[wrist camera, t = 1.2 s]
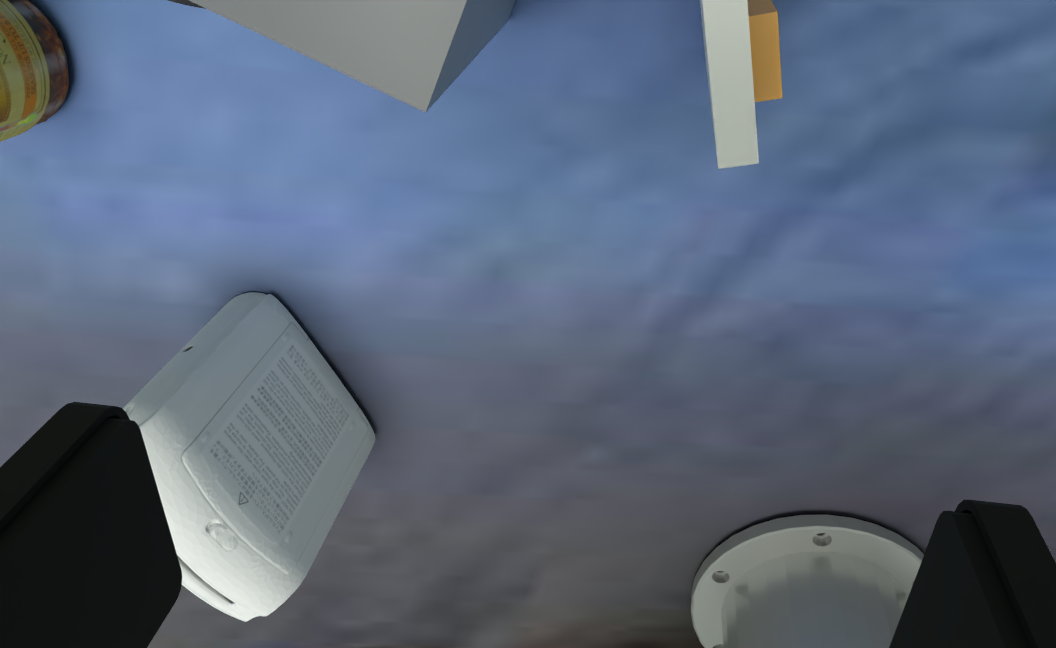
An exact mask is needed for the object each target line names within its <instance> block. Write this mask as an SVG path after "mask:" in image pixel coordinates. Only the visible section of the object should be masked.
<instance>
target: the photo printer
mask: <svg viewBox="0 0 1056 648" xmlns="http://www.w3.org/2000/svg"><path fill="white" fill-rule="evenodd" d="M123 410H124V411H125V412H126V413H127V415H128V417H129V419H130V420H132V421H135V422H136V423H137V424H138V426H139V428H140V430H141V433H142V437H143V440H144V444H145V447H146V451H147V454H148V457H149V461H150V464H151V468H152V471H153V474H154V478H155V481H156V485H157V488H158V492H159V495H160V498H161V502H162V505H163V509H164V512H165V516H166V519H167V522H168V526H169V529H170V533H171V536H172V539H173V543H174V546H175V550H176V553H177V557H178V560H179V563H180V567H181V571H182V585H183V586H184V587H186V588H187V589H188V590H190V591H191V592H192V593H194V594H195V595H196V596H198V597H199V598H201V599H202V600H204V601H205V602H207V603H208V604H210V605H211V606H213V607H215V608H217V609H218V610H220V611H222V612H224V613H226V614H228V615H230V616H232V617H235V618H237V619H240V620H242V621H245V622H247V621H248V620H250V619H252V618H254V617H257V616H267V615H269V614H270V613H272V612H273V611H274V610H276V609H277V608H278V607H279V606H280V605H282V604H283V603H284V602H285V601H286V600H287V599H288V598H289V597H290V596H291V595H292V594H293V593H294V591H295V590H296V589H297V588H298V587H299V585H300V584H301V583H302V581H303V580H304V578H305V577H306V575H307V573H308V571H309V569H310V568H311V566H312V564H313V562H314V560H315V558H316V556H317V554H318V552H319V550H320V548H321V546H322V545H323V542H324V540H325V538H326V536H327V534H328V533H329V531H330V529H331V527H332V524H333V523H334V521H335V519H336V517H337V515H338V513H339V511H340V509H341V507H342V505H343V503H344V501H345V499H346V498H347V496H348V494H349V492H350V490H351V488H352V486H353V484H354V482H355V480H356V478H357V477H358V474H359V473H360V471H361V469H362V467H363V465H364V463H365V461H366V459H367V457H368V456H369V454H370V452H371V450H372V448H373V446H374V443H375V434H374V431H373V429H372V427H371V425H370V424H369V422H368V420H367V418H366V416H365V415H364V414H363V412H362V410H361V409H360V408H359V406H358V405H357V403H356V402H355V401H354V399H353V398H352V396H351V395H350V393H349V392H348V391H347V389H346V388H345V386H344V385H343V384H342V382H341V381H340V379H339V378H338V377H337V375H336V374H335V372H334V371H333V370H332V368H331V367H330V366H329V364H328V363H327V362H326V360H325V359H324V358H323V356H322V355H321V354H320V352H319V351H318V350H317V348H316V347H315V345H314V344H313V343H312V341H311V340H310V339H309V337H308V336H307V334H306V333H305V332H304V330H303V329H302V328H301V327H300V325H299V324H298V323H297V321H296V320H295V319H294V318H293V316H292V315H291V314H290V313H289V311H288V310H287V309H286V308H285V307H284V306H283V305H282V304H281V302H280V301H279V300H278V299H277V298H275V297H274V296H273V295H271V294H268V295H266V294H263V293H256V292H250V293H244V294H241V295H238V296H236V297H234V298H233V299H232V300H230V301H229V302H228V303H227V304H226V305H225V306H224V307H223V308H222V309H221V310H220V311H219V312H218V313H217V314H216V315H215V316H214V317H213V318H212V319H211V320H210V321H209V322H208V323H207V324H206V325H205V326H204V327H203V328H202V329H201V330H200V331H199V332H198V333H197V334H196V335H195V336H194V337H193V338H192V339H191V340H190V341H189V342H188V343H187V344H186V345H185V346H184V347H183V348H182V349H181V350H180V351H179V352H178V353H177V354H176V355H175V356H174V357H173V358H172V359H171V360H170V361H169V362H168V363H167V364H166V365H165V366H164V367H163V368H162V369H161V370H160V371H159V372H158V373H157V374H156V375H155V376H154V377H153V378H152V379H151V380H150V381H149V382H148V383H147V384H146V385H145V386H144V387H143V388H142V389H141V390H140V391H139V392H138V393H137V394H136V395H135V396H134V397H133V399H132V400H131V401H130V402H129V403H128V404H127V405H126V406H125V407H124V408H123Z"/></svg>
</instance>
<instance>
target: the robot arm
mask: <svg viewBox="0 0 1056 648" xmlns="http://www.w3.org/2000/svg"><path fill="white" fill-rule="evenodd" d="M181 584H182V571H181V567H180V563H179V560H178V557H177V553H176V550H175V546H174V543H173V539H172V536H171V533H170V529H169V526H168V522H167V519H166V516H165V512H164V509H163V505H162V502H161V498H160V495H159V492H158V488H157V485H156V481H155V478H154V474H153V471H152V468H151V464H150V461H149V457H148V454H147V451H146V447H145V444H144V440H143V437H142V433H141V430H140V428H139V426H138V424H137V423H136V422H135V421H132V420H130V419H129V417H128V415H127V413H126V412H125V411H124V410H123V409H122V408H120V407H116V406H107V405H98V404H89V403H80V402H73V403H69V404H67V405H65V406H64V407H62V408H61V409H60V410H59V411H58V412H57V413H56V414H55V415H54V416H53V417H52V418H51V419H50V420H48V421H47V422H46V423H45V424H44V425H43V426H42V427H41V428H40V429H39V430H38V431H37V432H36V433H35V434H34V435H33V436H32V437H31V438H30V439H29V440H28V441H27V442H26V443H25V444H24V445H23V446H22V447H21V448H20V449H19V450H18V451H17V452H16V453H15V454H14V455H13V456H12V457H11V458H10V459H9V460H8V461H6V462H5V463H4V464H3V465H2V466H1V467H0V648H147V647H148V645H149V643H150V642H151V640H152V639H153V637H154V635H155V634H156V632H157V631H158V629H159V627H160V626H161V624H162V623H163V621H164V619H165V618H166V616H167V615H168V613H169V612H170V610H171V608H172V607H173V605H174V604H175V602H176V600H177V598H178V595H179V592H180V589H181ZM691 616H692V622H693V628H694V630H695V632H696V634H697V636H698V639H699V641H700V643H701V644H702V646H703V647H704V648H1056V563H1055V561H1054V559H1053V557H1052V555H1051V553H1050V551H1049V549H1048V547H1047V545H1046V543H1045V541H1044V539H1043V537H1042V536H1041V534H1040V532H1039V530H1038V528H1037V526H1036V524H1035V522H1034V520H1033V518H1032V516H1031V515H1030V513H1029V512H1028V510H1027V509H1026V508H1024V507H1022V506H1021V505H1012V504H1003V503H994V502H985V501H976V500H963V501H962V502H961V503H960V504H959V505H958V507H957V509H956V510H955V512H952V511H943V512H942V513H941V514H940V516H939V518H938V520H937V522H936V525H935V528H934V530H933V533H932V536H931V538H930V541H929V543H928V546H927V549H926V551H925V554H923V553H922V552H921V551H920V550H919V549H918V548H917V547H916V546H915V545H913V544H912V543H910V542H909V541H907V540H906V539H904V538H903V537H902V536H900V535H899V534H897V533H894V532H892V531H890V530H888V529H886V528H883V527H881V526H879V525H877V524H873V523H870V522H866V521H862V520H859V519H855V518H850V517H842V516H834V515H798V516H791V517H784V518H778V519H774V520H770V521H767V522H764V523H760V524H757V525H754V526H752V527H749V528H747V529H745V530H743V531H741V532H739V533H737V534H735V535H733V536H732V537H730V538H729V539H727V540H726V541H725V542H723V543H722V544H720V545H719V546H718V547H716V548H715V549H714V550H713V552H712V553H711V554H710V555H709V556H708V557H707V558H706V559H705V560H704V561H703V563H702V565H701V567H700V568H699V570H698V572H697V574H696V576H695V578H694V582H693V586H692V590H691Z"/></svg>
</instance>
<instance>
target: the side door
mask: <svg viewBox="0 0 1056 648" xmlns="http://www.w3.org/2000/svg"><path fill="white" fill-rule="evenodd" d="M700 9H701V20H702V30H703V40H704V51H705V61H706V70H707V78H708V87H709V95H710V103H711V112H712V120H713V129H714V137H715V145H716V154H717V162H718V169H721V168H729V167H736V166H743V165H751V164H758V163H759V157H758V143H757V129H756V115H755V102H760V101H766V100H773V99H779V98H782V81H781V63H780V45H779V26H778V11H777V9H776V7H775V6H774V4H773V2H772V0H700Z"/></svg>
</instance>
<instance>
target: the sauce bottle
mask: <svg viewBox="0 0 1056 648" xmlns="http://www.w3.org/2000/svg"><path fill="white" fill-rule="evenodd" d="M68 87H69V73H68V63H67V57H66V54H65V51H64V49H63V43H62V40H61V39H60V38H59V37H58V36H57V32H56V29H55V28H54V26H53V25H52V24H51V23H50V22H49V21H48V19H47V18H46V17H45V15H44V14H43V13H42V12H41V11H40V10H39V9H38V8H37V7H36V6H35V5H34V4H33V3H31V2H30V1H29V0H0V142H1V141H3V140H6V139H9V138H11V137H14V136H17V135H19V134H22V133H24V132H26V131H27V130H29V129H30V128H32V127H33V126H34V125H35V124H39V123H41V122H44V121H46V120H47V119H48V118H50V117H51V116H52V115H54V114H55V113H56V112H57V111H58V109H59V107H60V106H61V105H62V104H63V103H64V101H65V97H66V95H67V91H68Z"/></svg>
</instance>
